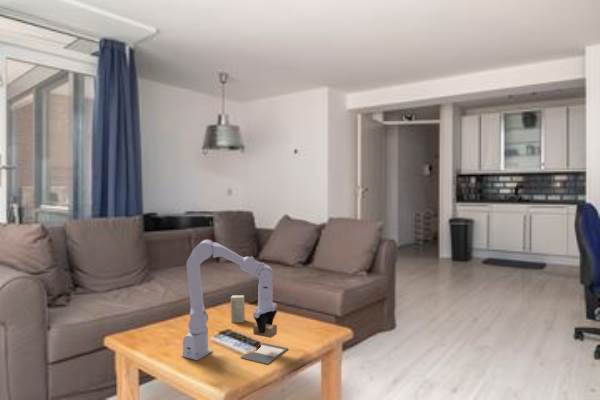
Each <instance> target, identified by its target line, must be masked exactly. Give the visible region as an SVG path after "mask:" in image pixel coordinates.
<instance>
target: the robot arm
mask: <svg viewBox="0 0 600 400" xmlns="http://www.w3.org/2000/svg"><path fill="white" fill-rule="evenodd" d="M210 257H212V258H219V257H221V258H223V259H226V260H228V261H230V262H232V263H234V264H236V265H239V267H240V270H241V271H243V272H245V273H247V274H249V275H252V276H254V277H256V278H257V279H258V285H257V286H258V287H257V289H258V290H257V291H258V292H257V295H258V296H257V298H258V299H257V308H256V309H255V311H253V314H252V316H253V319H254V320H255V322H256V324H257V325H258V329H259V333H265V327H266V324H272V325H273V323H274V319H275V316H276V315H277V313H278V311H277V310H276V309H277V305H278V303H277V302H274V300H273V297H274V291H273V290H274V289H273V288H274V285H273V279H274V270H273V268H272V267H271V266H270V265H269V264H267V263H266V264H265V262H260V261H258V260H256V259H255V257H253V256H245V257H243V256H242V255H241V254H240V255H239V254H238V253H236V252H235V251H233V250H231V249H229V248H228V247H226V246H224V245H222V244H220V243H219V242H215V241H213V240H211V239H203V240H202V241H200V242H199V243H198V244H197V245H196V246H195V247H194V248H193V249H192V251H191V254H190V255H189V257H188V259H187V260H186V263H185V264H186V271H187V280H188V281H187V282H188V283H187V284H188V292H189V293H188V294H189V304H190V310H189V311H190V312H189V316H190V317H189V322H188V324H187V325H188V326H187V327H188V333H187V334H186V335H185V337H184V338H183V339H182V354H181V357H183V358H186V359H187V358H188V359H190V360H194V361H199V360H200V359H202V358H204V357H205V356H207V355H209V354H211V353H212V352H213V349H209V328H208V326H207V323H208V322H209V315H208V313H207V311H206V306H205V303H204V296H203V295H204V293H203V284H202V277H201V276H202V274H201V264H202V263H203V262H204V261H206V260H208V259H209V258H210Z"/></svg>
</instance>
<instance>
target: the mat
mask: <svg viewBox="0 0 600 400" xmlns="http://www.w3.org/2000/svg"><path fill="white" fill-rule="evenodd" d="M260 344H261V347H260V348H259V349H258V350H257V351H255V352H254V353H250V354H246V353H245V354H243V355H241V356H240V359H243V360H247V361H251V362H255V363H259V364H263V365H268V366H269V365H270V364H271V363H272V362H274V361H275V360H276V359H277V358H279V357H280V356H281V355H283V354H284V353H285V352H286V351H288V350H289V348H288V347H283V346H280V345H274V344H272V343H271V344H270V343H266V342H262V343H260Z"/></svg>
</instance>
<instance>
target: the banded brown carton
mask: <svg viewBox="0 0 600 400" xmlns="http://www.w3.org/2000/svg"><path fill="white" fill-rule="evenodd" d="M252 327H253V333H252V334H253V336H260V337H265V338H269V339H271V338H273V337H275V336H276V335H277V334H278V331H277V330H278V328H277V327H278V325H277V324H273V323H272V324H266V327H265V333H259V329H258V325H257V323H255V324H254V325H252Z"/></svg>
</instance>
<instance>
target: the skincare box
mask: <svg viewBox="0 0 600 400" xmlns="http://www.w3.org/2000/svg"><path fill="white" fill-rule="evenodd" d="M245 309H246V308H245V295H244V294H243V295H242V294H241V295H239V294H238V295H237V294H236V295H231V297H230V322H231V323H235V324H236V323H244V322H245V320H246V318H245V317H246V315H245V311H246V310H245Z"/></svg>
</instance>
